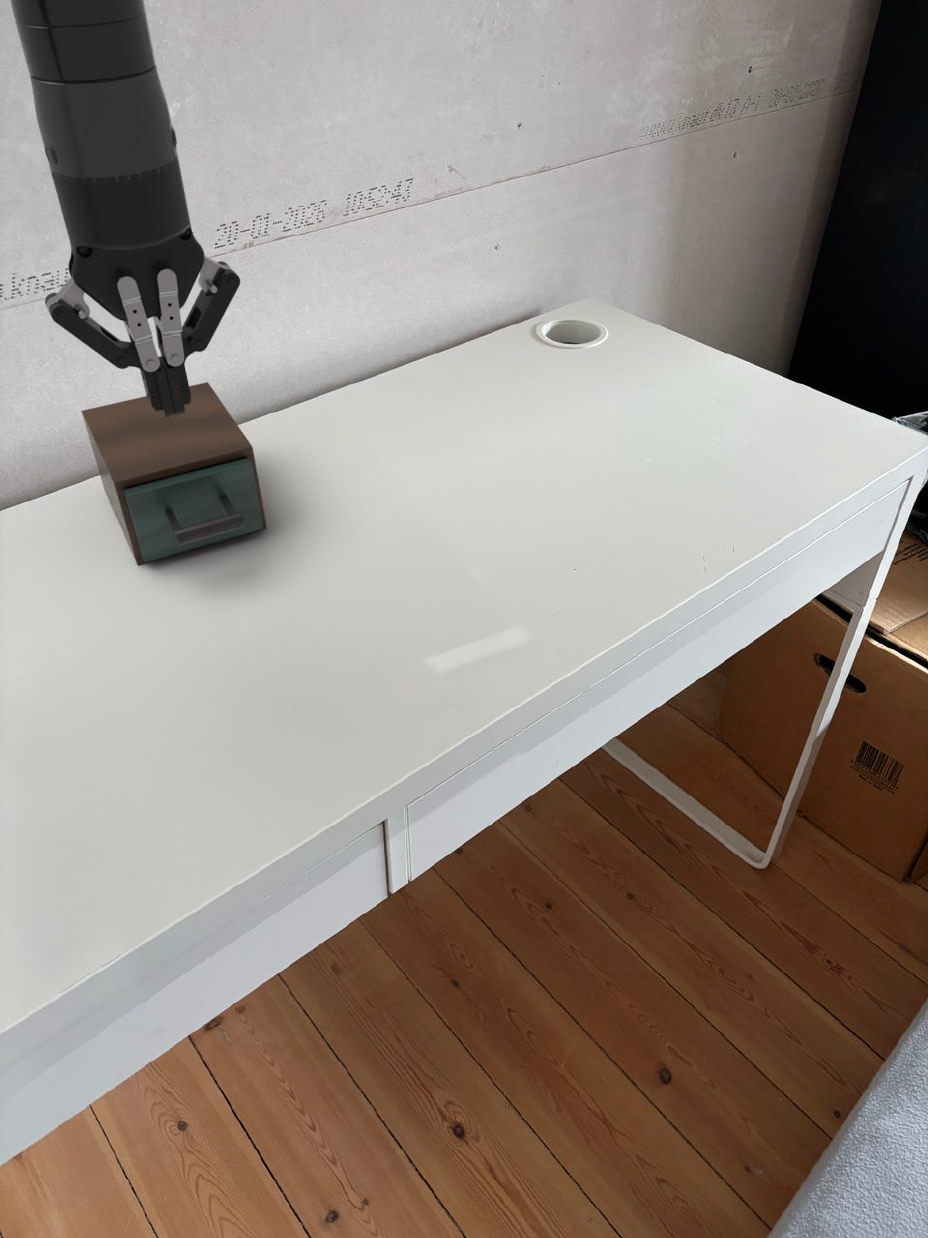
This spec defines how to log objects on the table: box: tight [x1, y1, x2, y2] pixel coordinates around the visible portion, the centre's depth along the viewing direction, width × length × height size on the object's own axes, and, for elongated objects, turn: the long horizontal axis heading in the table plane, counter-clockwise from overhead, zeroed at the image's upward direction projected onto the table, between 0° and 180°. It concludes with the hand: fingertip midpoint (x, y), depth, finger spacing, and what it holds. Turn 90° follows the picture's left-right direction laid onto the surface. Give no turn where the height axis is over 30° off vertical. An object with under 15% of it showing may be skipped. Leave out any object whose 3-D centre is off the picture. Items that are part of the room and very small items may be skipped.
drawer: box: [124, 458, 264, 563], centre depth 92 cm, size 18×11×7 cm, turn 27°
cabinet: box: [80, 381, 268, 566], centre depth 95 cm, size 15×13×9 cm
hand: (171, 410), depth 70 cm, fingers closed
